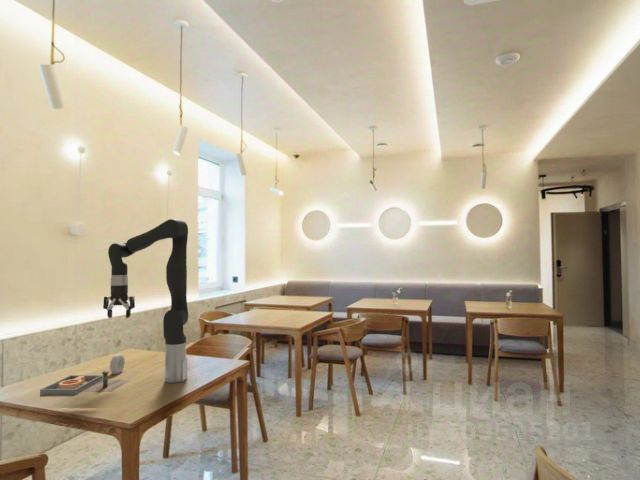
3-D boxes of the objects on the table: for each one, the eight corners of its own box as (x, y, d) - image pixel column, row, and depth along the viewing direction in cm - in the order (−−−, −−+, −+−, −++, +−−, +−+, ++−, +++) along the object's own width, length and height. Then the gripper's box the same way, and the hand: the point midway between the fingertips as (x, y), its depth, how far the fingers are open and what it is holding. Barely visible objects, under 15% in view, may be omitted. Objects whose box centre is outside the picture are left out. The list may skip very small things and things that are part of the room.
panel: (129, 382, 187) (130, 365, 188) (111, 393, 171) (111, 375, 172) (104, 382, 188) (104, 365, 188) (83, 393, 172) (83, 376, 172)
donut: (115, 377, 195) (115, 356, 195) (108, 377, 195) (108, 356, 195) (126, 371, 205) (126, 351, 205) (119, 371, 205) (119, 351, 205)
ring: (91, 382, 185) (91, 376, 185) (74, 392, 172) (74, 385, 172) (73, 382, 185) (73, 376, 185) (54, 392, 172) (54, 385, 172)
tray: (102, 381, 188) (102, 375, 188) (75, 396, 168) (76, 389, 168) (70, 381, 188) (70, 375, 188) (39, 396, 168) (40, 389, 168)
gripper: (137, 283, 202) (137, 316, 201) (108, 283, 202) (108, 316, 201) (130, 284, 194) (129, 318, 194) (100, 284, 195) (100, 319, 194)
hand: (118, 317), depth 198 cm, fingers open, 8 cm apart
